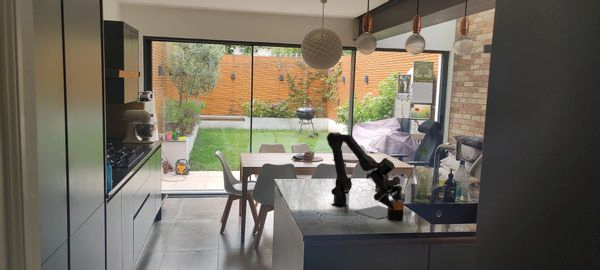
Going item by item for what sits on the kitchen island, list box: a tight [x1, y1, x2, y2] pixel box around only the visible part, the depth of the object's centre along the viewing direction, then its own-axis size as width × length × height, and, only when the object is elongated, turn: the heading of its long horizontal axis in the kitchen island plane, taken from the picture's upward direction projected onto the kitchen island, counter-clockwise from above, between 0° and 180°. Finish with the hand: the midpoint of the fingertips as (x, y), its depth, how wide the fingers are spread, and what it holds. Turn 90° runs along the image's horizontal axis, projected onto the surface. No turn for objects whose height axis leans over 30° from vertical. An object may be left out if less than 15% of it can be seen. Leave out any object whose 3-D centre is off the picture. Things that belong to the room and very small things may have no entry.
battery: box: [386, 198, 405, 222], centre depth 208 cm, size 4×7×10 cm, turn 92°
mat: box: [353, 205, 388, 220], centre depth 220 cm, size 16×20×1 cm
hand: (398, 207), depth 207 cm, fingers open, 9 cm apart
